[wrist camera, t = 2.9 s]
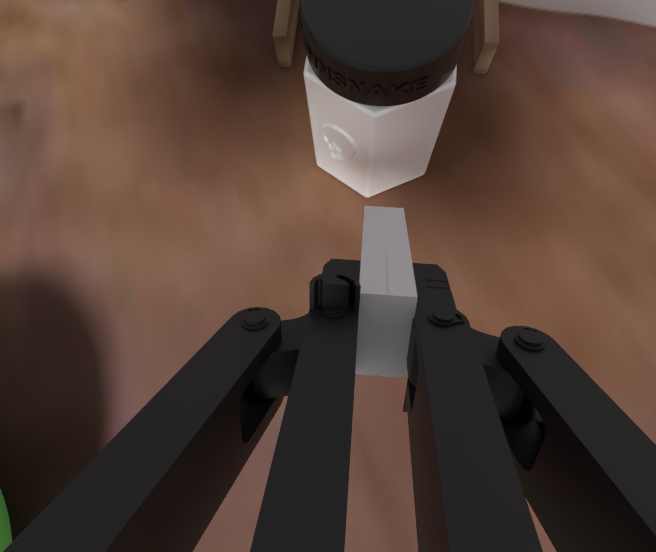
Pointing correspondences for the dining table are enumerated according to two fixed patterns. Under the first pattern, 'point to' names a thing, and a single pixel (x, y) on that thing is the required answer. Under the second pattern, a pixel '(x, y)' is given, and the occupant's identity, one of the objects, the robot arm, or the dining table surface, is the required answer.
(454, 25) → the jar
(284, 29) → the box
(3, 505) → the toy bird
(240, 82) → the dining table surface
